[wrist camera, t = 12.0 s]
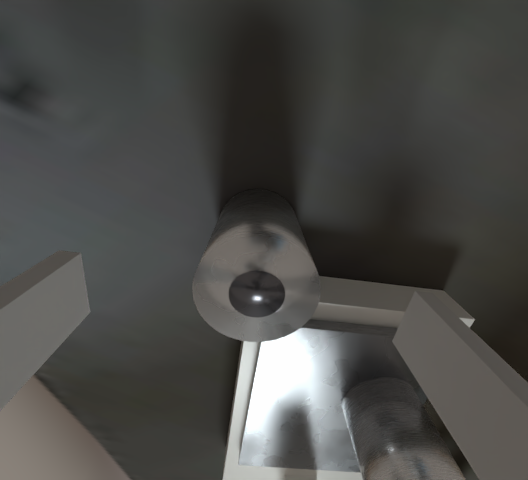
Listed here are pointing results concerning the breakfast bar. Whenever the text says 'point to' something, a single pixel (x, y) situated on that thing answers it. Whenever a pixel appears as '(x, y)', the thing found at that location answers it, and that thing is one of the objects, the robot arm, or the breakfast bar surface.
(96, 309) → the breakfast bar surface
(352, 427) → the spacer
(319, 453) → the pan
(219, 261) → the spacer
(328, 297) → the scale
